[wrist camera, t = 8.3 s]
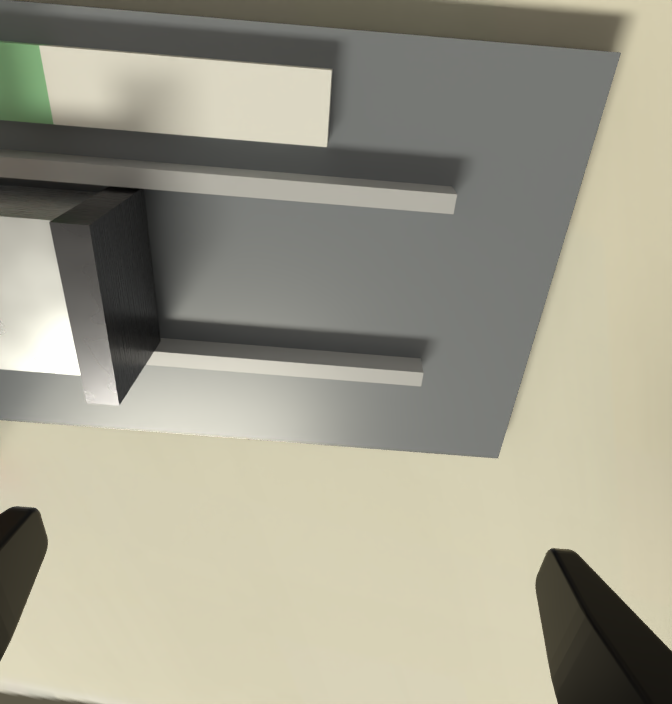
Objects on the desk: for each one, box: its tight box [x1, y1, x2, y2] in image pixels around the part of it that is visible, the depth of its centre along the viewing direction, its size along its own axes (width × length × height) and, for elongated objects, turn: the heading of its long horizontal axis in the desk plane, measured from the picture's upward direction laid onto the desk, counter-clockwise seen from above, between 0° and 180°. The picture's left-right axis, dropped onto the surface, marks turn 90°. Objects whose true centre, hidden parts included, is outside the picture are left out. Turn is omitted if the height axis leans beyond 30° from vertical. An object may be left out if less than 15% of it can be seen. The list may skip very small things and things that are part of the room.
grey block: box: [0, 185, 161, 406], centre depth 15 cm, size 7×10×4 cm
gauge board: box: [0, 0, 621, 458], centre depth 17 cm, size 24×15×5 cm, turn 86°
